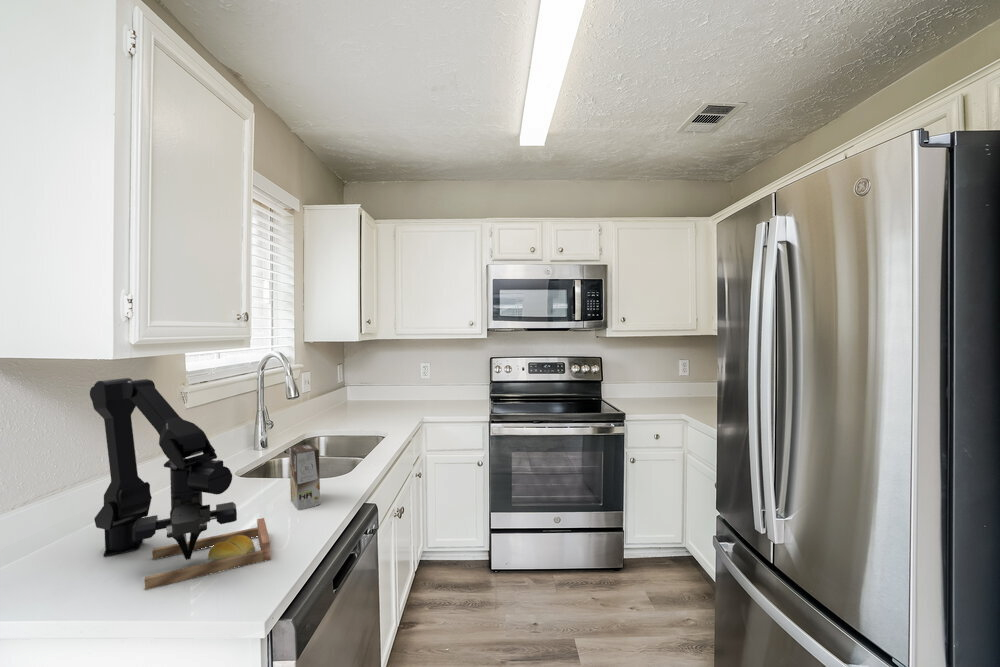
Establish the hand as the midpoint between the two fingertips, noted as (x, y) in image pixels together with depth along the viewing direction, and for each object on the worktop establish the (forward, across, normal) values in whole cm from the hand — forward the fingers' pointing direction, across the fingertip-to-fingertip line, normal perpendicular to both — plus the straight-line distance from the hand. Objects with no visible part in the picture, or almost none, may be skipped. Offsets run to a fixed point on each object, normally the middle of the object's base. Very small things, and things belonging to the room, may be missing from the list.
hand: (188, 558), depth 105 cm
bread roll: (+1, +8, -1) cm, 9 cm away
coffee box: (+1, +28, +23) cm, 36 cm away
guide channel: (+1, +4, 0) cm, 4 cm away
